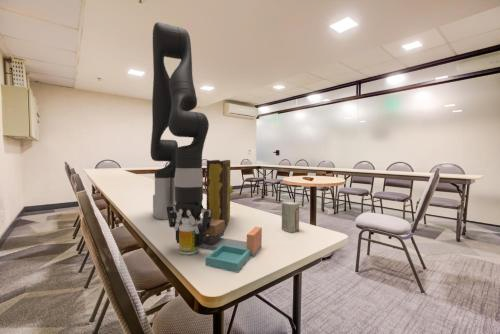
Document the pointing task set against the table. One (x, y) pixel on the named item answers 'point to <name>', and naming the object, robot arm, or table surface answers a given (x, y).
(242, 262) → the cradle
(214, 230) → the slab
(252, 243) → the rail
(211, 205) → the book
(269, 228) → the table surface
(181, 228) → the supplement bottle
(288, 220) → the skincare box
